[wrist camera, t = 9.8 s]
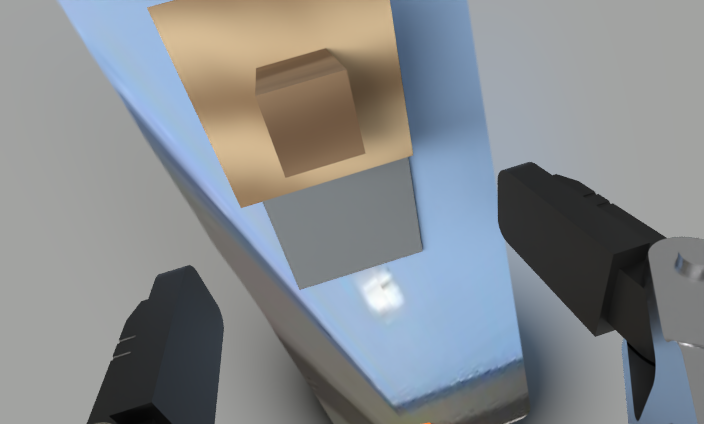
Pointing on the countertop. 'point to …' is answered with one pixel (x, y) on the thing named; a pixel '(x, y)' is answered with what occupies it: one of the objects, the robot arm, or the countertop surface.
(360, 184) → the rubber mat
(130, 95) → the countertop surface
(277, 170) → the oak lid
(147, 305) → the robot arm
